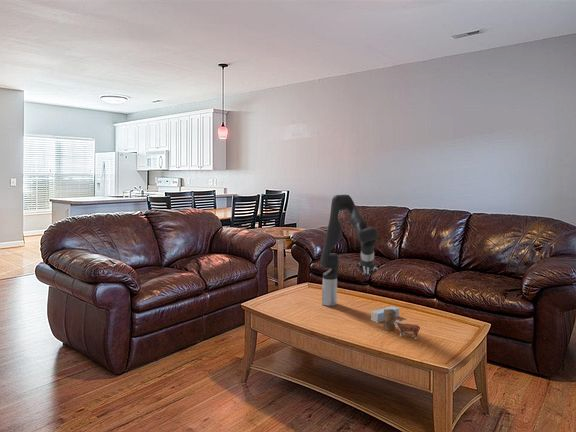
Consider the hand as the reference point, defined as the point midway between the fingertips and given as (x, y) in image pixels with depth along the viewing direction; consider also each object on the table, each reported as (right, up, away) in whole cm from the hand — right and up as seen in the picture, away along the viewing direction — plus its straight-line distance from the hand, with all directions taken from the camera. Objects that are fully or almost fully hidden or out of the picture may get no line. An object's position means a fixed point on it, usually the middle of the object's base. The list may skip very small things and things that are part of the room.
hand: (367, 276), depth 244 cm
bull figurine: (+15, -27, -28) cm, 42 cm away
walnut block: (+9, -26, -17) cm, 32 cm away
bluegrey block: (+3, -22, -6) cm, 23 cm away
